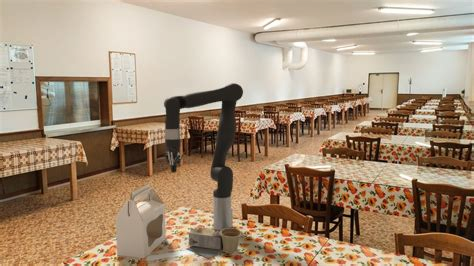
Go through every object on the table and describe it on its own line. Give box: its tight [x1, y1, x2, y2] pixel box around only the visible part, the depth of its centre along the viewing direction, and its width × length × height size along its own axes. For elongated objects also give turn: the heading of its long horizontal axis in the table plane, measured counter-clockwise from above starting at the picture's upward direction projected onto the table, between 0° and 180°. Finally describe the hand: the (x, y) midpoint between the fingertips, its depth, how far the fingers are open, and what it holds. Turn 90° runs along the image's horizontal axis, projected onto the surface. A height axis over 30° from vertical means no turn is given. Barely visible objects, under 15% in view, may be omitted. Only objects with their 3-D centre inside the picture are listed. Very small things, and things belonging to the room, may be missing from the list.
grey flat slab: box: [186, 246, 224, 260], centre depth 166 cm, size 9×14×1 cm, turn 47°
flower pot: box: [220, 227, 242, 254], centre depth 165 cm, size 9×9×9 cm
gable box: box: [115, 183, 167, 259], centre depth 169 cm, size 22×13×28 cm, turn 166°
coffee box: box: [188, 226, 223, 251], centre depth 171 cm, size 9×6×16 cm
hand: (173, 172), depth 184 cm, fingers closed
